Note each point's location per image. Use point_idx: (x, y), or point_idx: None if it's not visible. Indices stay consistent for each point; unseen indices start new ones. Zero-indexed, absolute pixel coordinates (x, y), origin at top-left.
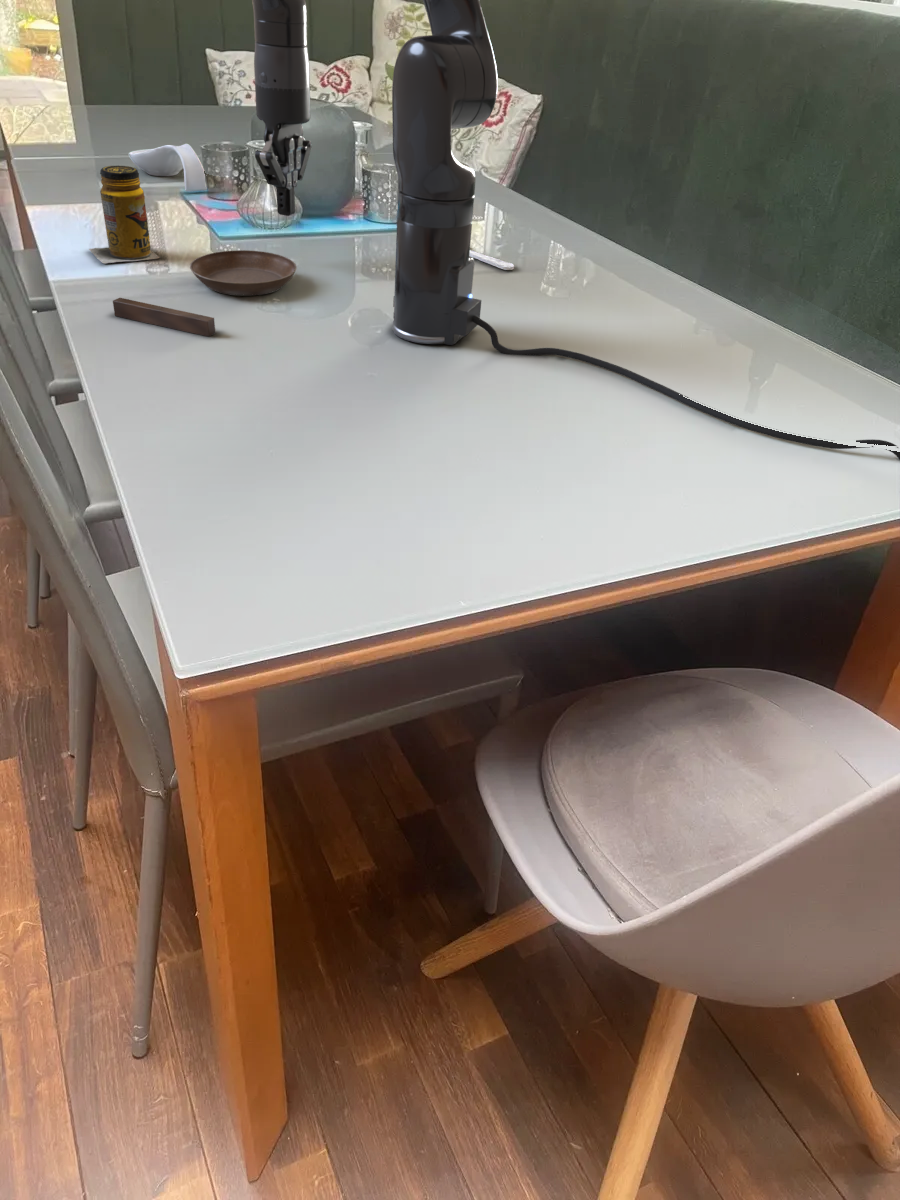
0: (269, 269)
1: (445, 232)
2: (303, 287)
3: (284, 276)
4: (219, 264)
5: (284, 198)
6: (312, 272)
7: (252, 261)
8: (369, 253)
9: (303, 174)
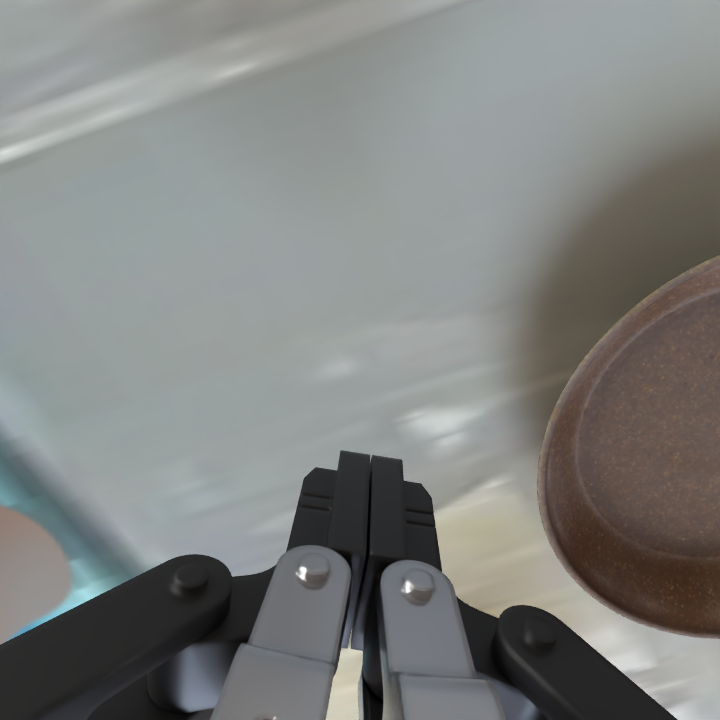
0: (584, 392)
1: None
2: (711, 197)
3: (671, 304)
4: (619, 564)
5: (434, 547)
6: (474, 231)
7: (559, 474)
8: (37, 57)
9: (139, 580)
